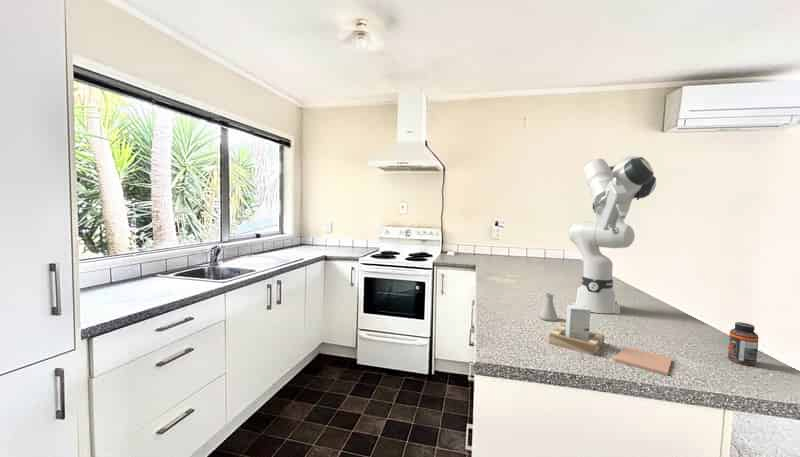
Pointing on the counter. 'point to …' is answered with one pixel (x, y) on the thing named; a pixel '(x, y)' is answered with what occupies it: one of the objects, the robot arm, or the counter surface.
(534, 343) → the counter surface
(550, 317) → the flask
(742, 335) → the supplement bottle
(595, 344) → the light wooden square frame
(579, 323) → the skincare box
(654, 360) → the terracotta tile
